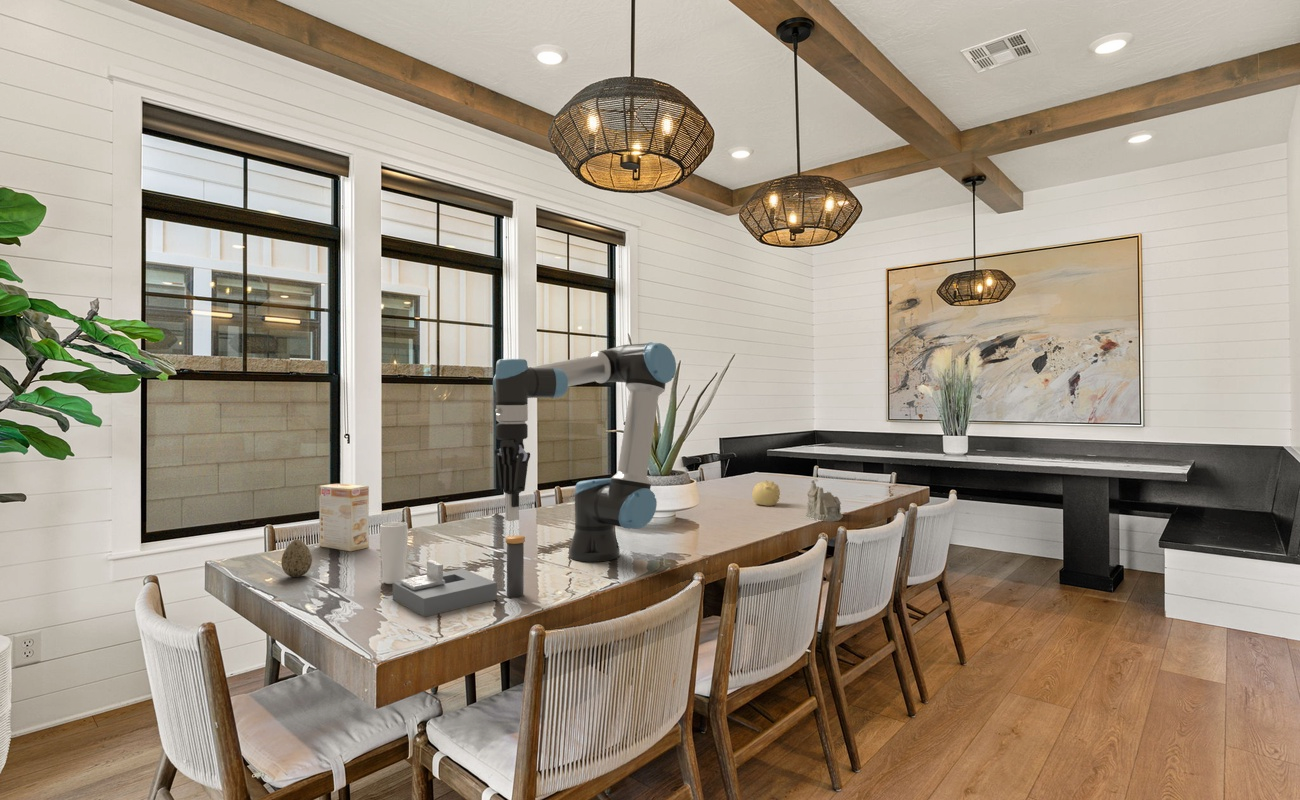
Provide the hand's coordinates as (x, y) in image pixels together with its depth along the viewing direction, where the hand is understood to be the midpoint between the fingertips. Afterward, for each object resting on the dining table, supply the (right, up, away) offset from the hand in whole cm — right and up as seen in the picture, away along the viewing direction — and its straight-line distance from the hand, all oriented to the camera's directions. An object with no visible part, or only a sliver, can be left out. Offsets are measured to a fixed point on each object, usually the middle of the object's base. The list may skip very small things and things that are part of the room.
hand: (512, 519), depth 160 cm
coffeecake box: (-64, -18, +49) cm, 82 cm away
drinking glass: (-33, -18, +11) cm, 39 cm away
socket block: (-15, -18, -3) cm, 24 cm away
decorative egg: (-60, -18, +15) cm, 65 cm away
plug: (+1, -18, 0) cm, 18 cm away
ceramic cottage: (+103, -18, +101) cm, 146 cm away
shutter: (-20, -14, -5) cm, 25 cm away
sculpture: (+84, -17, +130) cm, 156 cm away
